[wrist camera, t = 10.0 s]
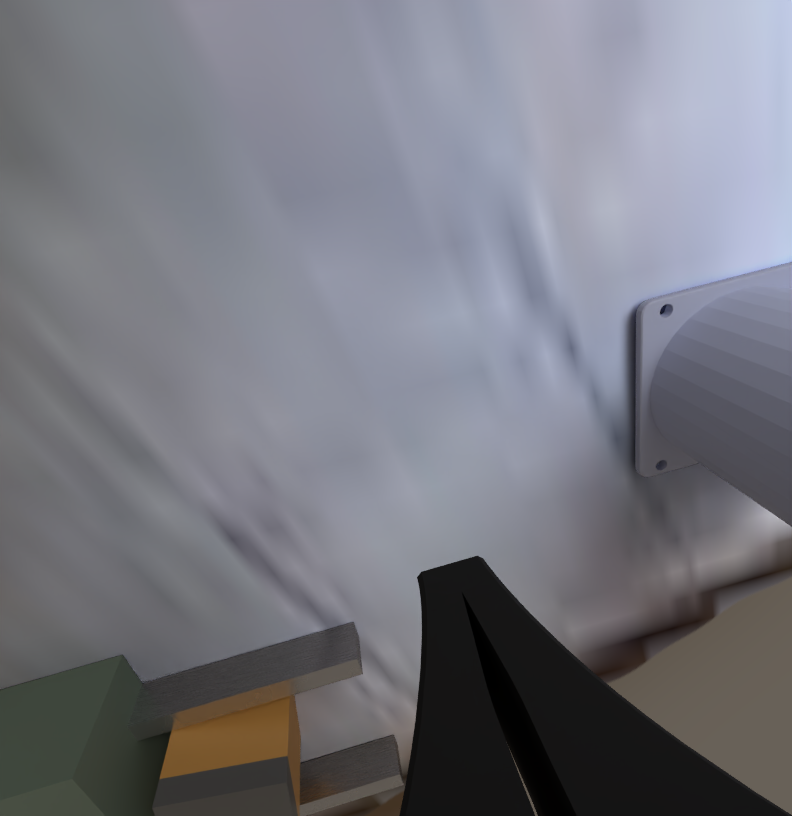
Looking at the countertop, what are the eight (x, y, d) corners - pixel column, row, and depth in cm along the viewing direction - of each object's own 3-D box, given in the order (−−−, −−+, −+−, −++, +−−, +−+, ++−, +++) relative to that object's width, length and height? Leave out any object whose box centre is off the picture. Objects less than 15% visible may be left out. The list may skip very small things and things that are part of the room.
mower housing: (342, 591, 22) (351, 694, 17) (404, 765, 28) (423, 876, 23) (-16, 694, 21) (-105, 831, 16) (128, 851, 27) (91, 983, 22)
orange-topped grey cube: (290, 669, 24) (286, 782, 19) (300, 735, 26) (299, 850, 21) (182, 686, 23) (151, 808, 18) (202, 752, 25) (178, 876, 20)
